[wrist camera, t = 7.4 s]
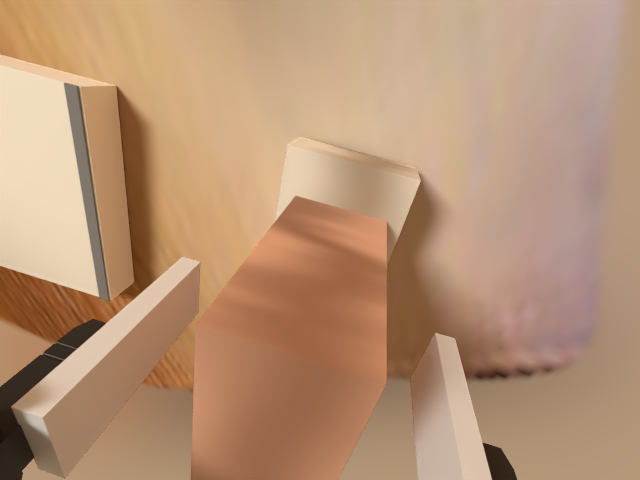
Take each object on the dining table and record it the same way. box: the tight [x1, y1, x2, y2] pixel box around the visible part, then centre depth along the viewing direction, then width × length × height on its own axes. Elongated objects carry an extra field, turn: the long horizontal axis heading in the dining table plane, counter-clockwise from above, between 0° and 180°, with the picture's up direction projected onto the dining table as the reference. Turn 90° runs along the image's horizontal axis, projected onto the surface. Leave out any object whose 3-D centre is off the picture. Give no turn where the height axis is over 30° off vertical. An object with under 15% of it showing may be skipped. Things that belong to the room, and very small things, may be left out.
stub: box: [191, 137, 421, 480], centre depth 13 cm, size 5×12×10 cm, turn 168°
